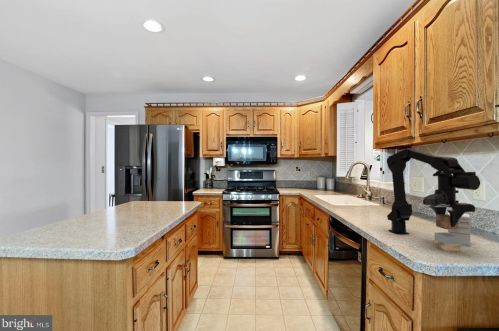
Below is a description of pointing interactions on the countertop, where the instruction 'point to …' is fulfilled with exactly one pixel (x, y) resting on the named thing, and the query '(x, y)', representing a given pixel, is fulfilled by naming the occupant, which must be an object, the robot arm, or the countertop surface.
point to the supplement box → (463, 229)
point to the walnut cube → (444, 221)
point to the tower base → (447, 246)
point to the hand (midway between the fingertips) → (446, 225)
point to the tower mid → (447, 238)
